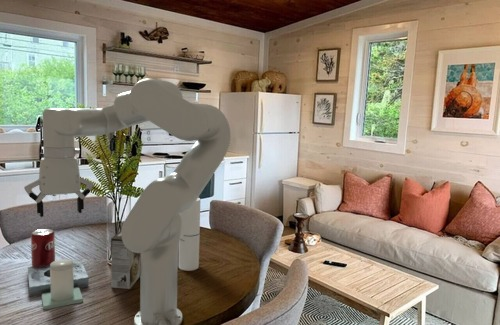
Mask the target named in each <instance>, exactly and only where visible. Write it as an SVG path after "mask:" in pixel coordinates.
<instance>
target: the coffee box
mask: <svg viewBox="0 0 500 325" xmlns="http://www.w3.org/2000/svg"><path fill="white" fill-rule="evenodd" d="M121 231H122V229H121V230H120V231H118V232H117V233H116V234H115V235H114V236H113V237H111V239H110V241H111V242H110V245H111V246H110V251H111V252H110V253H111V254H110V260H111V262H110V266H111V268H110V269H111V270H110V276H111V277H110V279H111V280H110V282H111V283H110V286H111V288H116V289H128V290H129V289H131V288H132V287H133V286H134V285H135V284H136V282H137V280H139V278H140V269H141V253H134V252H132V251H130V250H129V249H127V248H126V246H125V245H124V243H123V241H122V236H121Z"/></svg>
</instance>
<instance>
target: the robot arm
mask: <svg viewBox="0 0 500 325" xmlns="http://www.w3.org/2000/svg"><path fill="white" fill-rule="evenodd" d="M146 122H150V123H152V124H154V125H155V126H157V127H158V128H160V129H162V130H163V131H165V132H166V133H168V134H170V135H172V136H173V137H174V138H176V139H179V140H181V141H185V142H193V141H195V142H194V143H193V144H192V145H191V147H190V148H189V149H188V150H187V151H185V152H186V153H184V155H183V157H182V159H181V160H180V161H179V164H177V166H176V168H175V169H174V170H173V171H172V172H171V173H169V174H168V175H165V176H162V177H159V178H156V179H154V180H152V181H151V182H150V183H149V184H148V185H147V186H146V187H145V188H144V190H142V192H141V193H140V196H139V197H138V199H137V201H136V202H135V203H134V205H133V207H132V209H131V210H130V211H129V213H128V214H127V216H126V218H125V220H124V222H123V224H122V227H121V230H122V231H121V230H120V231H121V236H122V241H123V243H124V245H125V246H126V248H127V249H129V250H130V251H132V252H134V253H140V277H139V278H140V281H139V282H140V283H139V284H140V285H139V286H140V287H139V290H140V294H139V295H140V296H139V311H138V312H137V313H136V314H135V316H134V318H133V325H181V324H182V322H183V313H182V311H181V310H180V309H179V308H178V270H179V269H178V268H179V241H180V235H181V229H182V220H181V216H180V213H181V212H183V211H185V210H187V209H189V208H190V207H191V206H192V205H193V204H194V203H195V202H196V200H197V199H198V198H200V195H201V194H202V192H203V191H204V189H205V187H206V186H207V185H208V183H209V182H210V180H211V179H212V177H213V175H214V174H215V173H216V171H217V169H218V168H219V167H220V165H221V164H222V162H223V161H224V159H225V158H226V155H227V154H228V153H227V152H228V150H229V148H230V144H231V128H230V124H229V121H228V119H227V117H226V115H225V113H224V112H222V111H221V109H219V108H218V107H216V106H214V105H212V104H206V103H193V102H190V101H188V100H186V99H185V98H183V93H182V91H181V89H180V88H179V87H178V86H177V85H176V84H175V83H173V82H170V81H168V80H162V79H157V78H156V79H155V78H143V79H141V80H138V81H137V82H136V83H135V84H134V85H133V86H132V88H131V90H128V91H125V92H122V93H119V94H117V95H116V96H115V98H114V102H113V104H111V105H107V106H103V107H100V108H99V107H98V108H79V107H78V108H74V107H73V108H60V107H59V108H57V107H56V108H52V107H51V108H50V107H49V108H45V109H44V110H43V111H42V134H43V137H42V138H43V157H42V158H41V159H40V162H39V170H38V171H39V172H38V173H39V174H38V179H37V180H34V181H33V182H31V183H29V184H27V185H25V186H24V188H23V189H24V190H25V193H27V195H28V196H29V198H31V199H32V200H33V201H35V203H36V213H37V215H38V214H39V215H40V216H39V217H40V218H42V217H44V201H43V199H45V197H46V196H55V195H56V196H57V195H59V196H60V195H70V194H71V195H72V194H75V195H76V196H77V198H76V202H77V203H76V204H77V205H76V206H77V212H78V213H79V214H83V213H82V212H83V211H82V210H84V208H85V205H84V204H85V202H84V200H85V198H86V197H87V196H88V195H89V194H90V193H91V190H92V189H93V187H94V185H95V184H94V182H92V181H91V180H88V179H86V178H83V177H81V175H80V166H79V163H78V162H79V160H78V158H77V157H75V156H76V155H77V154H78V155H79V154H81V149H80V148H76V147H75V138H82V137H83V138H84V137H96V136H98V137H99V136H104V135H107V134H112V133H115V132H119V131H121V130H125V129H127V128H130V127H131V126H132V127H133V126H136V125H139V124H143V123H146ZM81 184H83V185H86V187H85V188H84V190H83V191H81ZM36 187H38V188H39V193H38V194H36V193H34V191H33V190H32V189H35V188H36Z"/></svg>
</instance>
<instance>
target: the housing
mask: <svg viewBox="0 0 500 325" xmlns="http://www.w3.org/2000/svg"><path fill="white" fill-rule="evenodd" d="M72 261H73V272H74V288H77V287H79V289H81V288H86V287H89V275H88V273H87V271H86V268H85V265H84V264H83V261H82V259H75V260H72ZM27 279H28V280H27V281H28V291H29V297H30V298H32V297H37V296H42V294H44V293H50V292H51V286H50V264H47V265H40V266H28V267H27Z"/></svg>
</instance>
